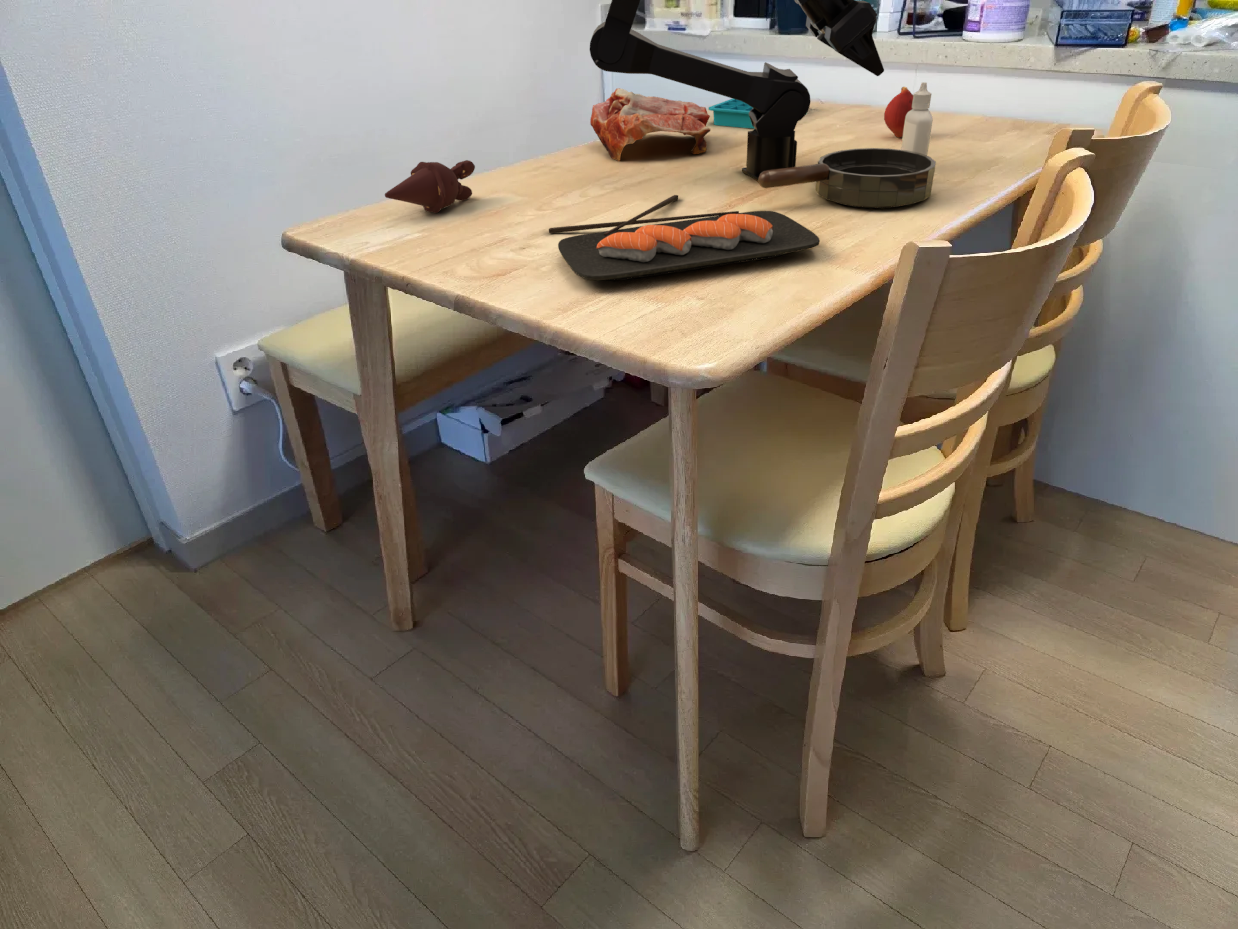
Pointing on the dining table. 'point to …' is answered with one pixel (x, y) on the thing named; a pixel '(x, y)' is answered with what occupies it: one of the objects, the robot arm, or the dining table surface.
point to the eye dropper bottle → (918, 123)
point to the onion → (898, 111)
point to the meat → (646, 120)
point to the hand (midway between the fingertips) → (872, 68)
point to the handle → (793, 175)
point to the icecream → (434, 185)
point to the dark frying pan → (876, 177)
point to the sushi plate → (680, 243)
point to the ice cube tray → (732, 114)
